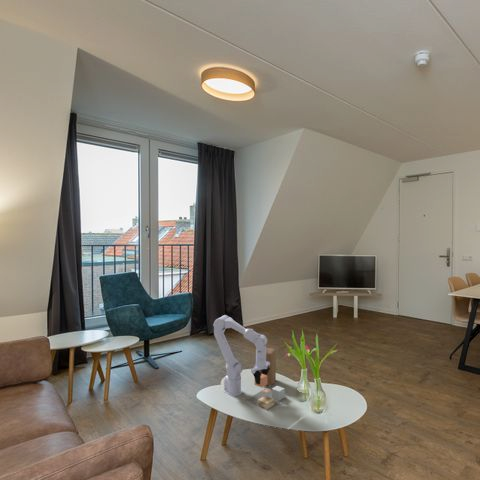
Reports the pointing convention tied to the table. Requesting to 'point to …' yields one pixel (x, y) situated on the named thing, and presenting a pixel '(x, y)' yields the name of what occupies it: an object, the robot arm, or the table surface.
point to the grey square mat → (267, 393)
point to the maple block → (266, 402)
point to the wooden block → (271, 365)
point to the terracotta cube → (262, 380)
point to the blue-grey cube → (278, 393)
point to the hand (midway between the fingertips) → (260, 382)
